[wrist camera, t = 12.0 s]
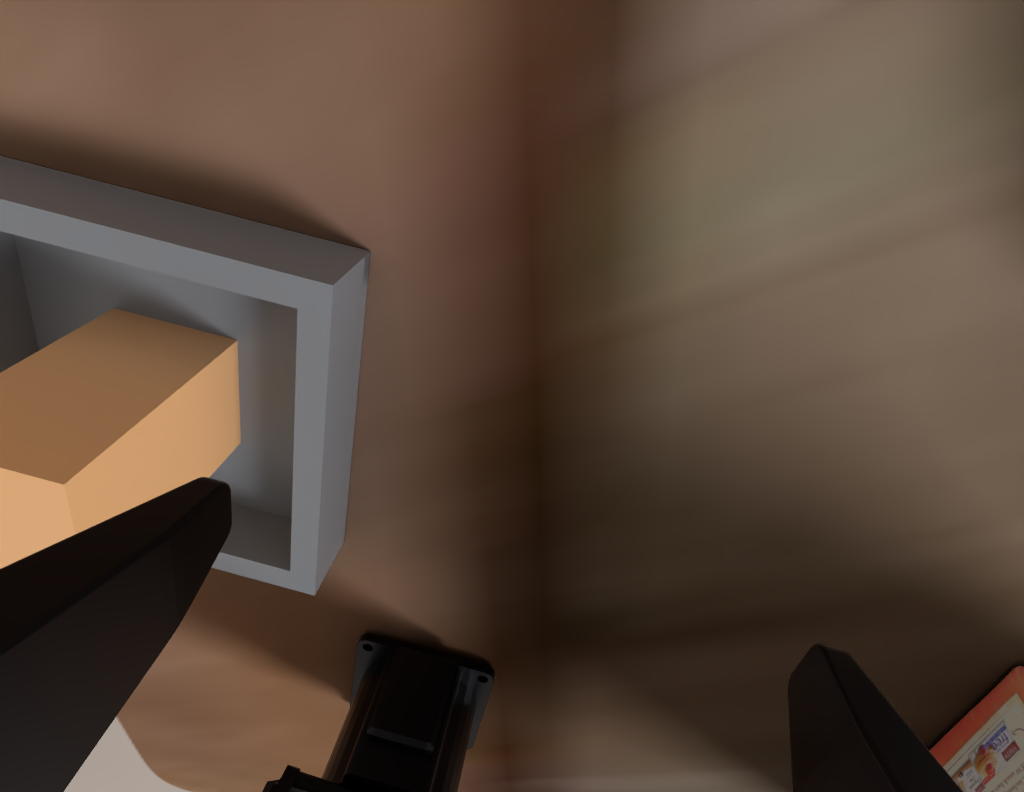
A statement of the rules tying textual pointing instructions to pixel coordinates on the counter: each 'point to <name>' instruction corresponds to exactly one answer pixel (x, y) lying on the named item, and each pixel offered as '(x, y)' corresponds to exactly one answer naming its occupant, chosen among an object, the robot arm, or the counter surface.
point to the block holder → (217, 310)
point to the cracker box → (988, 741)
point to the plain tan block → (110, 425)
